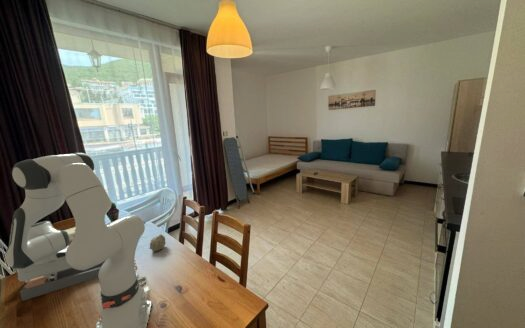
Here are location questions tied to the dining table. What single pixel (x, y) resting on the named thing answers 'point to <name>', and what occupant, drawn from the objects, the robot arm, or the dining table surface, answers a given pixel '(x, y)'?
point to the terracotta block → (36, 282)
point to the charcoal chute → (61, 281)
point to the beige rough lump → (157, 243)
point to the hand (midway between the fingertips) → (53, 280)
